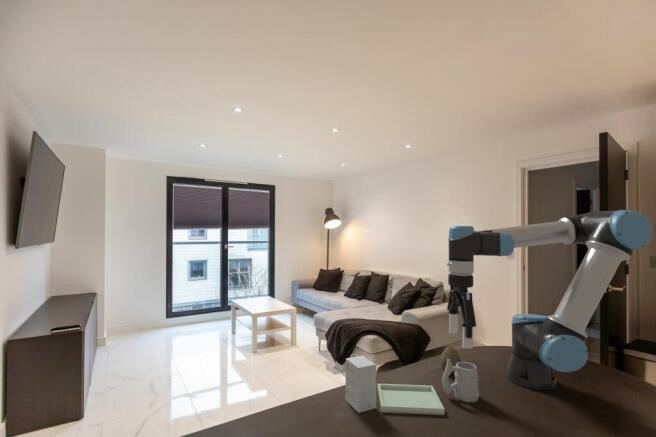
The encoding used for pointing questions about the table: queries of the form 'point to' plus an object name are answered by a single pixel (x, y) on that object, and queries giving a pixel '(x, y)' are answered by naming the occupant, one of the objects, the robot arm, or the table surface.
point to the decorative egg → (451, 355)
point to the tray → (409, 399)
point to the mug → (462, 381)
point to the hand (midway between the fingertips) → (460, 340)
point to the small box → (360, 383)
